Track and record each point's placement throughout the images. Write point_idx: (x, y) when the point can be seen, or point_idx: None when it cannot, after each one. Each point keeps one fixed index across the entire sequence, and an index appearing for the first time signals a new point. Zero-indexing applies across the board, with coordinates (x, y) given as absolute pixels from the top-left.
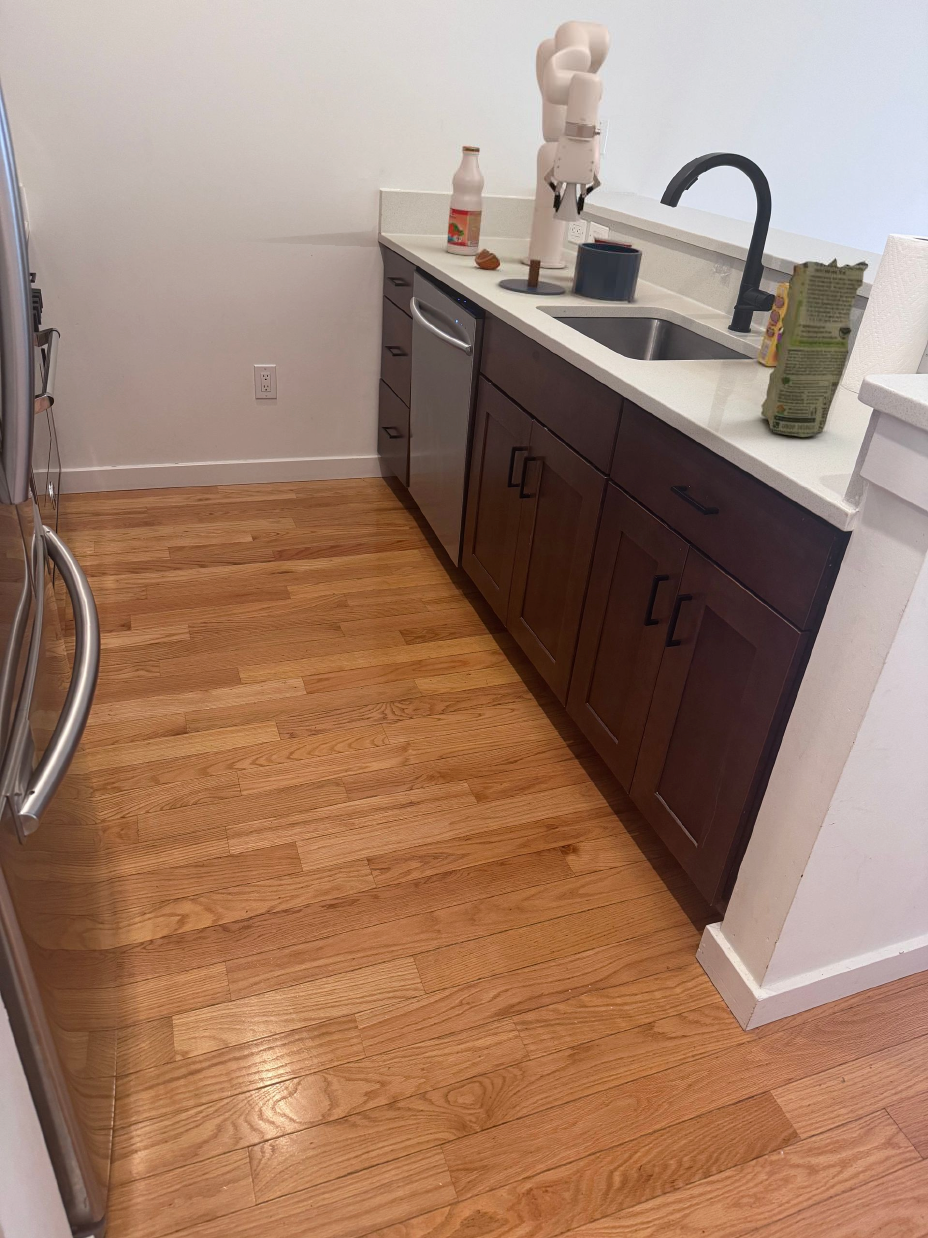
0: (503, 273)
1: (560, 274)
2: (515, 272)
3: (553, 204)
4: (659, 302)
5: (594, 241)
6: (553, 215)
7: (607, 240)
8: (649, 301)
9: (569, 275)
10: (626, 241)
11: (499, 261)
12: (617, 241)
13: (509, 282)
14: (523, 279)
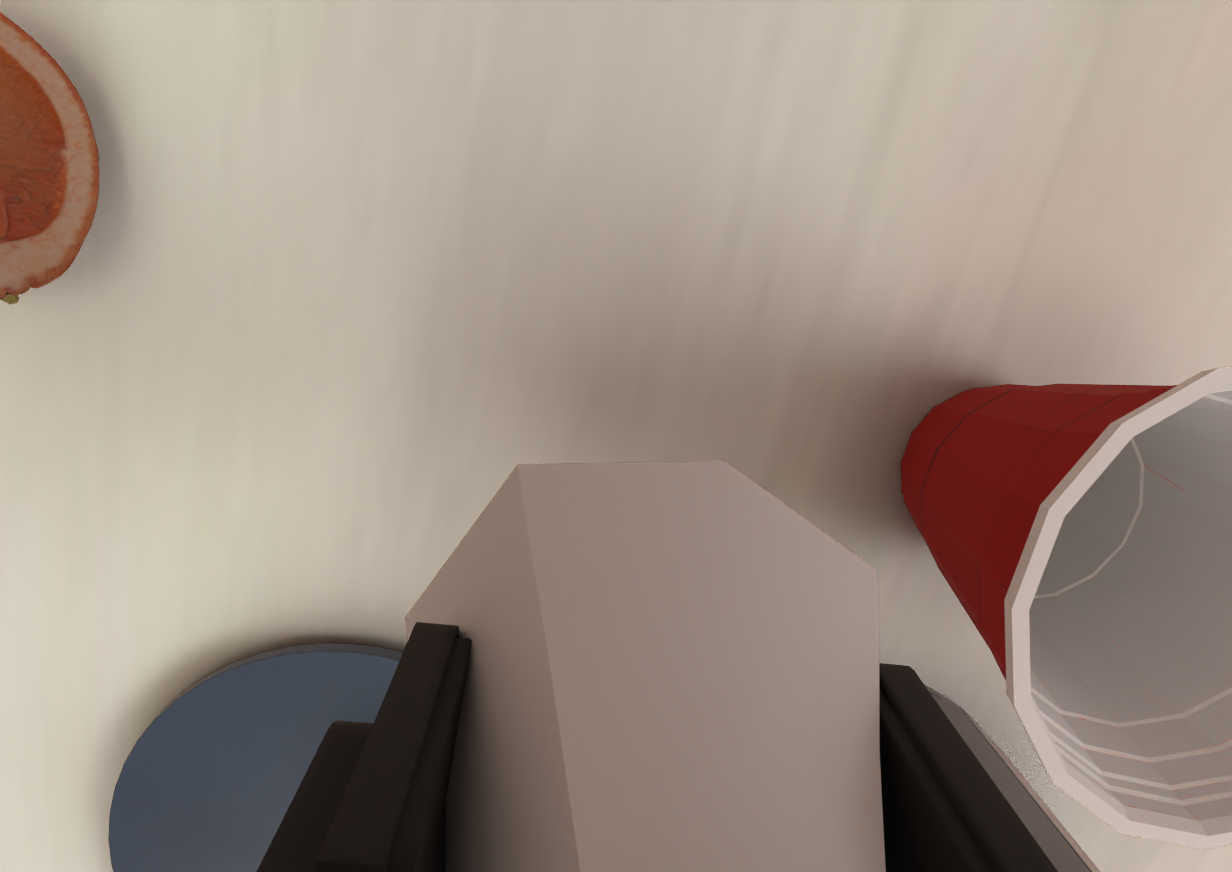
0: (169, 247)
1: (717, 50)
2: (283, 141)
3: (325, 752)
4: (1171, 867)
5: (1002, 590)
6: (410, 634)
7: (1096, 813)
8: (1110, 862)
9: (797, 67)
10: None
11: (60, 275)
12: (1202, 841)
13: (182, 819)
14: (295, 668)
